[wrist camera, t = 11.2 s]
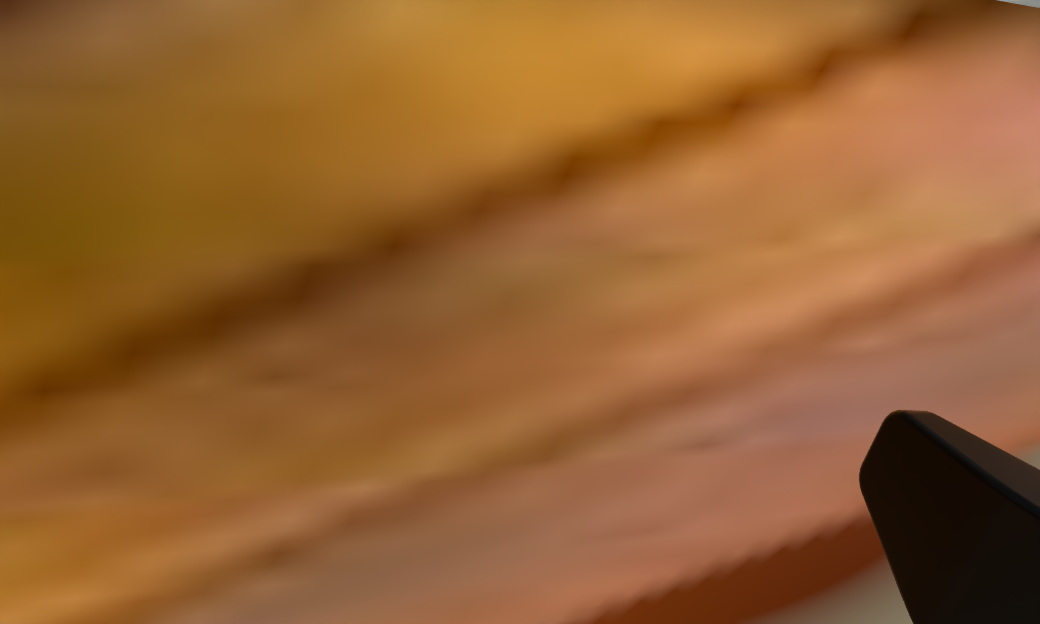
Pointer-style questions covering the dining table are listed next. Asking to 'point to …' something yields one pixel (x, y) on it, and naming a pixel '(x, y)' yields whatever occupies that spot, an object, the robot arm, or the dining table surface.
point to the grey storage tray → (1025, 2)
